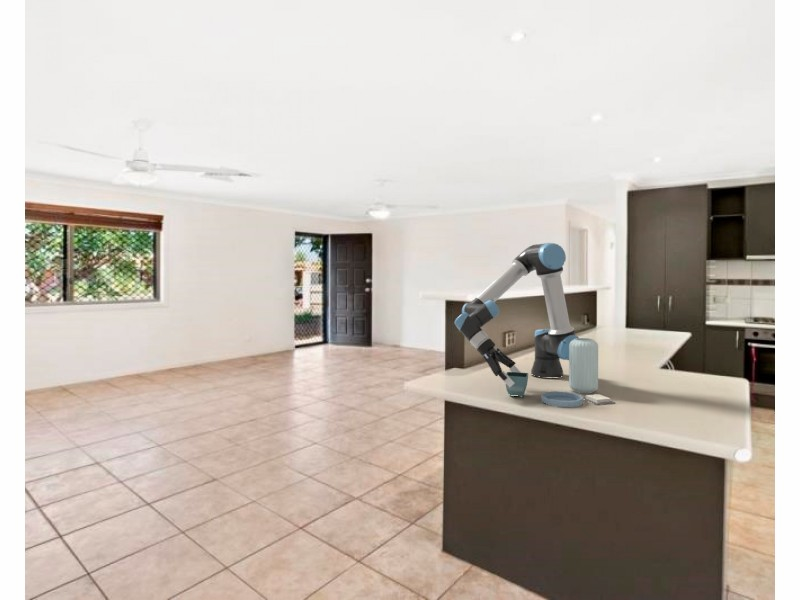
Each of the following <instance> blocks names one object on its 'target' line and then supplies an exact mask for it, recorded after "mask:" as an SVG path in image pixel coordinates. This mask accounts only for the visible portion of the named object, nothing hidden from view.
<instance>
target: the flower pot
mask: <svg viewBox="0 0 800 600" xmlns="http://www.w3.org/2000/svg"><path fill="white" fill-rule="evenodd" d="M520 372H521V371H520ZM520 372H511V371H506V372H505V373H506V374H507V375H508V376H509V377H510V378H511V379H512V381H513V382H514V384H513V385H512V386H511V387H510V388H509V387H508V385H507V384H506V383H505V389H506V391H507V394H508V395H509V394H510V395H518V396H523V397H524V395H525V394H526V390H527V388H528V387H527V386H528V380H529V373H528V372H521V373H520Z"/></svg>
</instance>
